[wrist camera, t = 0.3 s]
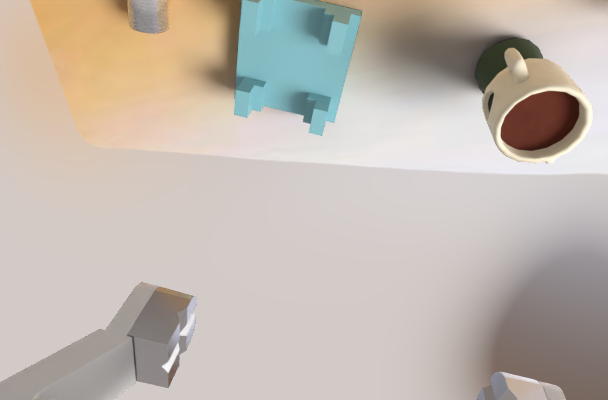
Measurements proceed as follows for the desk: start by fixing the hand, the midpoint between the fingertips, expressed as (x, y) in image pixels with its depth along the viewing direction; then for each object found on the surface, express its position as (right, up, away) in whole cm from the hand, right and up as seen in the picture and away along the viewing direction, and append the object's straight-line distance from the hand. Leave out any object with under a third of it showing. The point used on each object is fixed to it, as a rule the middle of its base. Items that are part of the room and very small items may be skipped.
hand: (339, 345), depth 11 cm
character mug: (+20, +18, +32) cm, 42 cm away
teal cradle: (-2, +20, +34) cm, 40 cm away
